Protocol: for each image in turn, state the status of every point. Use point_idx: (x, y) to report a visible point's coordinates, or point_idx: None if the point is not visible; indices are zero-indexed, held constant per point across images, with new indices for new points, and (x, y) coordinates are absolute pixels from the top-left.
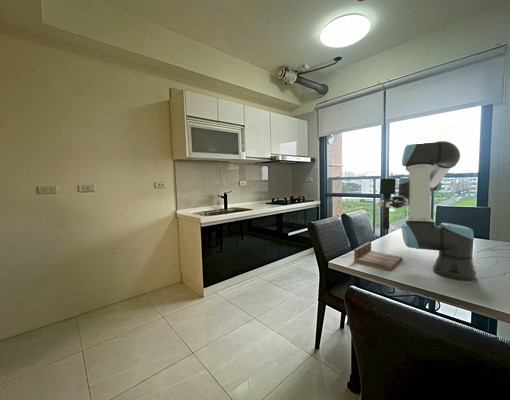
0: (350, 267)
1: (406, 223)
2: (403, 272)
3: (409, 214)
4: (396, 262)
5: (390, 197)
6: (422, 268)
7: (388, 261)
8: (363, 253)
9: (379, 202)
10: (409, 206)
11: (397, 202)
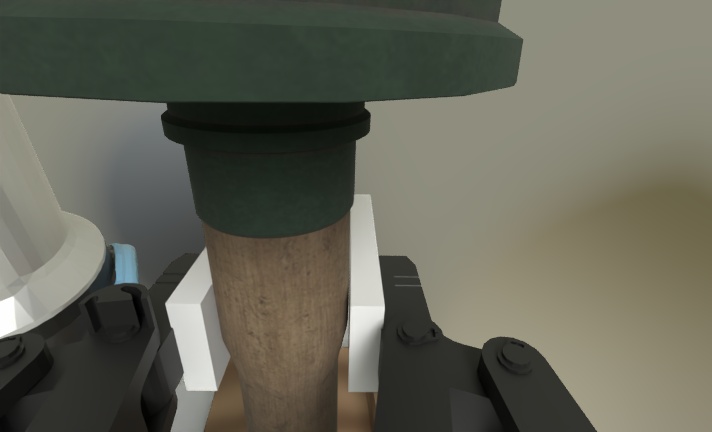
0: (348, 310)
1: (110, 256)
2: (181, 384)
3: (58, 218)
4: (206, 424)
5: (192, 187)
6: None
7: (242, 405)
8: (368, 401)
9: (358, 199)
10: (31, 156)
11: (20, 336)
